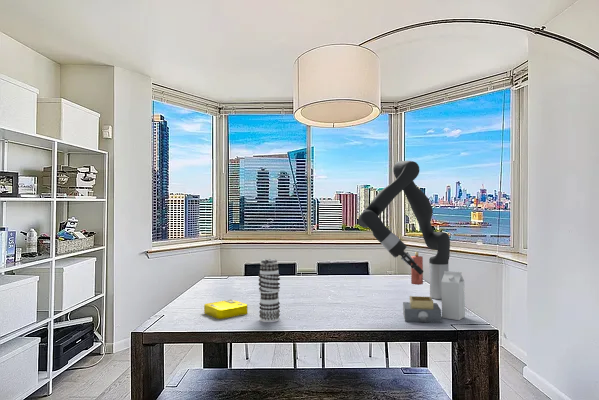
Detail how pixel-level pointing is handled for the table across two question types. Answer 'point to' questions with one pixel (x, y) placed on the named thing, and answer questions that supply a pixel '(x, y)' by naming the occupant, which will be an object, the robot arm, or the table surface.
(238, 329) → the table surface
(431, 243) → the robot arm
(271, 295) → the decorative candle
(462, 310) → the milk carton
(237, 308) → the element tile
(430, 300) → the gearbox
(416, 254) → the red bottle
